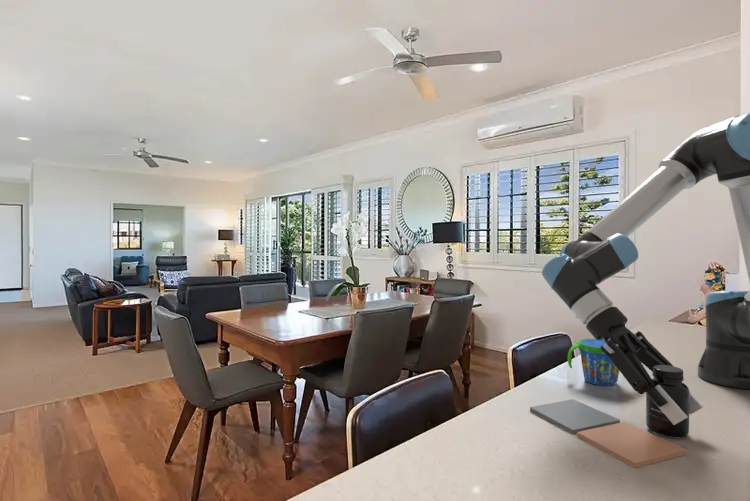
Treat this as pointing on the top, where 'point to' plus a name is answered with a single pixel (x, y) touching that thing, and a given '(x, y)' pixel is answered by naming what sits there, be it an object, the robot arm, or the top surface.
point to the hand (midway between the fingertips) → (689, 415)
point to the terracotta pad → (631, 444)
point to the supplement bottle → (679, 393)
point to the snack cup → (595, 362)
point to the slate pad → (573, 415)
